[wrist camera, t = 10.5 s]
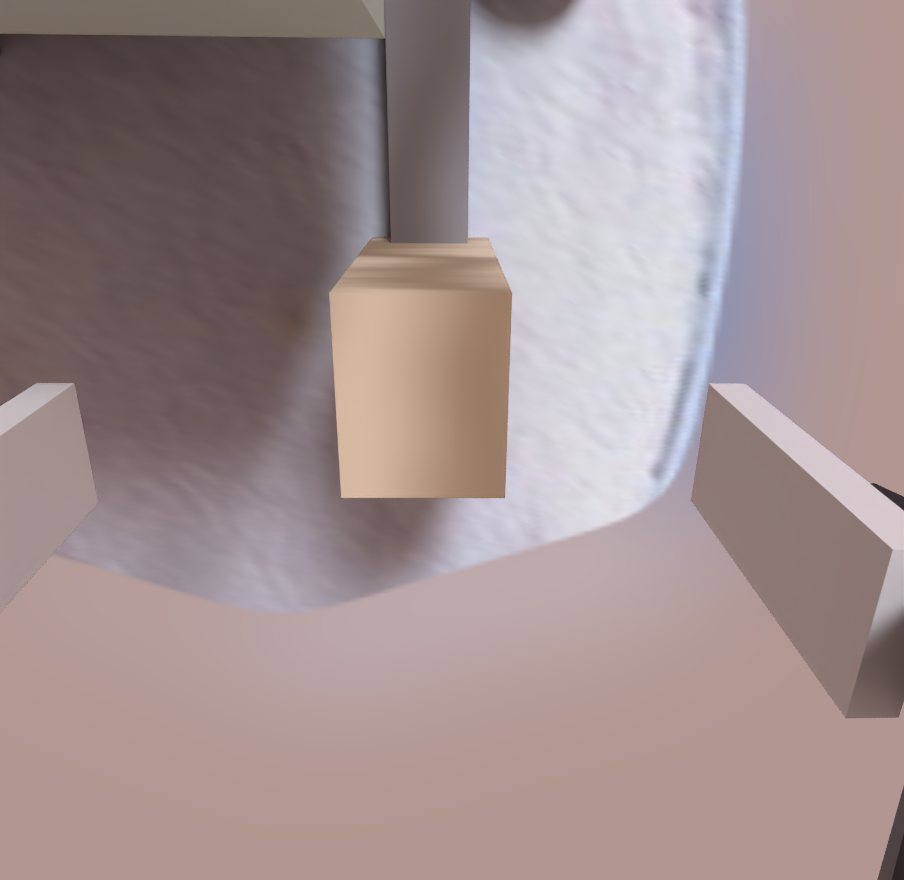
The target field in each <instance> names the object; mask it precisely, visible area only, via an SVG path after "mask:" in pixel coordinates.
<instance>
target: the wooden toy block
mask: <svg viewBox="0 0 904 880" xmlns="http://www.w3.org/2000/svg"><path fill="white" fill-rule="evenodd" d="M384 3H385V40H386V78H387V115H388V152H389V190H390V227H391V238H371V240H370V241H369V242H368V244H367V245H366V246H365V247H364V249H363V250H362V251H361V253H360V254H359V255H358V256H357V258H356V259H355V260H354V261H353V263H352V264H351V265H350V267H349V268H348V269H347V270H346V272H345V273H344V274H343V276H342V277H341V278H340V279H339V281H338V282H337V283H336V284H335V286H334V287H333V288H332V290H331V291H330V292H329V300H330V317H331V334H332V351H333V368H334V385H335V402H336V419H337V436H338V453H339V470H340V487H341V498H505V481H506V452H507V423H508V394H509V365H510V335H511V306H512V292H511V290H510V287H509V285H508V283H507V280H506V278H505V276H504V273H503V271H502V269H501V266H500V264H499V262H498V259H497V257H496V255H495V253H494V250H493V248H492V246H491V243H490V241H489V239H488V238H468V168H469V80H470V0H384Z"/></svg>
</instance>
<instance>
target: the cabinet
mask: <svg viewBox="0 0 904 880" xmlns="http://www.w3.org/2000/svg"><path fill="white" fill-rule="evenodd" d="M0 34H75V35H153V36H231V37H309V38H385V20H384V0H0ZM0 56H1V51H0Z"/></svg>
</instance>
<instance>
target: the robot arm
mask: <svg viewBox="0 0 904 880" xmlns="http://www.w3.org/2000/svg"><path fill="white" fill-rule="evenodd" d="M691 501H692V502H693V504H694V506H695V507H696V508H697V510H698V511H699V513H700V514H701V515H702V517H703V518H704V520H705V521H706V522H707V524H708V525H709V526H710V528H711V529H712V531H713V532H714V533H715V535H716V536H717V538H718V539H719V541H720V542H721V544H722V545H723V546H724V548H725V549H726V551H727V552H728V553H729V555H730V556H731V558H732V559H733V560H734V562H735V563H736V564H737V566H738V567H739V569H740V570H741V572H742V573H743V575H744V576H745V577H746V579H747V580H748V581H749V583H750V584H751V586H752V587H753V589H754V590H755V591H756V593H757V594H758V596H759V597H760V598H761V600H762V601H763V603H764V604H765V605H766V607H767V608H768V610H769V611H770V613H771V614H772V615H773V617H774V618H775V619H776V621H777V622H778V624H779V625H780V627H781V628H782V629H783V631H784V632H785V634H786V635H787V636H788V638H789V639H790V641H791V642H792V644H793V645H794V646H795V648H796V649H797V650H798V652H799V653H800V655H801V656H802V658H803V659H804V660H805V661H806V663H807V664H808V666H809V667H810V669H811V670H812V672H813V673H814V675H815V676H816V677H817V678H818V680H819V681H820V683H821V684H822V686H823V687H824V689H825V690H826V691H827V693H828V694H829V696H830V697H831V698H832V700H833V701H834V703H835V704H836V705H837V707H838V708H839V710H840V711H841V712H842V714H843V715H844V717H845V718H888V717H889V718H892V717H899V715H900V711H901V708H902V705H903V702H904V497H903V496H901V495H899V494H897V493H894V492H892V491H890V490H888V489H886V488H883V487H881V486H879V485H877V484H874V483H873V484H870V483H868V482H867V481H866V480H865V479H863V478H862V477H861V476H860V475H858V474H857V473H856V472H854V471H853V470H852V469H851V468H850V467H848V466H847V465H846V464H845V463H843V462H842V461H841V460H840V459H838V458H837V457H836V456H835V455H833V454H832V453H831V452H830V451H828V450H827V449H826V448H825V447H823V446H822V445H821V444H820V443H818V442H817V441H816V440H815V439H813V438H812V437H811V436H810V435H808V434H807V433H806V432H805V431H803V430H802V429H801V428H800V427H798V426H797V425H796V424H795V423H793V422H792V421H791V420H790V419H788V418H787V417H786V416H785V415H783V414H782V413H781V412H779V411H778V410H777V409H776V408H774V407H773V406H772V405H771V404H770V403H768V402H767V401H766V400H765V399H763V398H762V397H761V396H760V395H758V394H757V393H756V392H754V391H753V390H752V389H751V388H750V387H748V386H747V385H746V384H709V386H708V393H707V399H706V406H705V412H704V420H703V425H702V432H701V438H700V445H699V451H698V458H697V464H696V471H695V478H694V484H693V491H692V497H691ZM97 504H98V499H97V494H96V489H95V484H94V479H93V474H92V469H91V464H90V459H89V454H88V449H87V444H86V439H85V434H84V429H83V424H82V419H81V414H80V409H79V403H78V398H77V393H76V388H75V383H36V384H34V385H33V386H31V387H30V388H28V389H26V390H25V391H23V392H22V393H20V394H19V395H17V396H16V397H14V398H12V399H11V400H9V401H8V402H6V403H5V404H3V405H1V406H0V613H1V612H2V611H3V609H4V608H5V607H6V606H7V605H8V604H9V603H10V601H11V600H12V599H13V598H14V597H15V596H16V595H17V594H18V593H19V591H20V590H21V589H22V588H23V587H24V586H25V585H26V583H27V582H28V581H29V580H30V579H31V578H32V577H33V576H34V575H35V573H36V572H37V571H38V570H39V569H40V568H41V566H43V564H44V563H45V562H46V561H47V560H48V559H49V558H50V557H51V555H52V554H53V553H54V552H55V551H56V550H57V549H58V548H59V546H60V545H61V544H62V543H63V542H64V541H65V540H66V539H67V537H68V536H69V535H70V534H71V533H72V532H73V531H74V530H75V528H76V527H77V526H78V525H79V524H80V523H81V522H82V521H83V519H84V518H85V517H86V516H87V515H88V514H89V513H90V512H91V510H92V509H93V508H94V507H95V506H96V505H97ZM878 880H904V787H903V791H902V794H901V798H900V802H899V805H898V809H897V812H896V816H895V820H894V823H893V827H892V830H891V834H890V837H889V841H888V844H887V848H886V851H885V855H884V859H883V862H882V866H881V870H880V873H879V877H878Z"/></svg>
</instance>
